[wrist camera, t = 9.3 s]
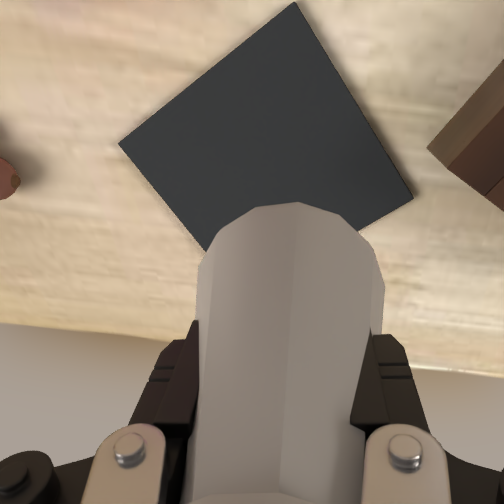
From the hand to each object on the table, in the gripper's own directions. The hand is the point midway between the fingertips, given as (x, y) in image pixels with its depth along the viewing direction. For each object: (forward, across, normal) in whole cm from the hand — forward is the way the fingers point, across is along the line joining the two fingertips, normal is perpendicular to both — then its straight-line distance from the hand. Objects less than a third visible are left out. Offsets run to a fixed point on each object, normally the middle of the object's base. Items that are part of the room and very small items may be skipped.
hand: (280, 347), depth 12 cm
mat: (+18, +2, 0) cm, 18 cm away
